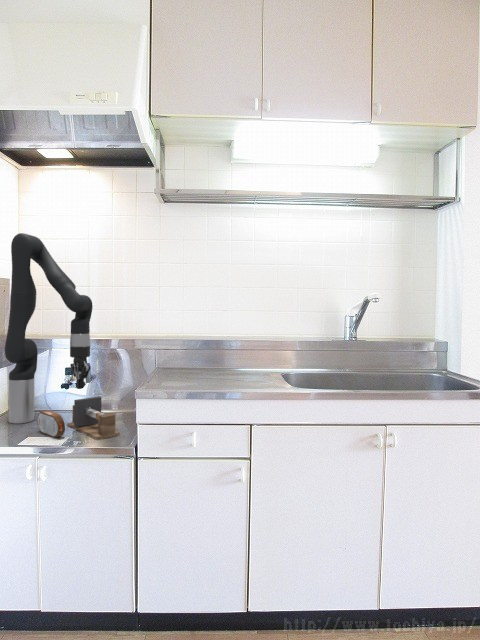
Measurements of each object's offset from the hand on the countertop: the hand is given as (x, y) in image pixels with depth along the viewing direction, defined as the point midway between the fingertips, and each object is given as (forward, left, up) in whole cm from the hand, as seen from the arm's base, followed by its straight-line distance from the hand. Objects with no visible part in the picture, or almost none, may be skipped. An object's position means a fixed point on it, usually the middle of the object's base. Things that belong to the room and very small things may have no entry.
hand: (80, 388), depth 167 cm
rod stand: (+11, 0, -15) cm, 18 cm away
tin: (+6, -14, -15) cm, 21 cm away
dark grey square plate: (+7, 0, -13) cm, 15 cm away
